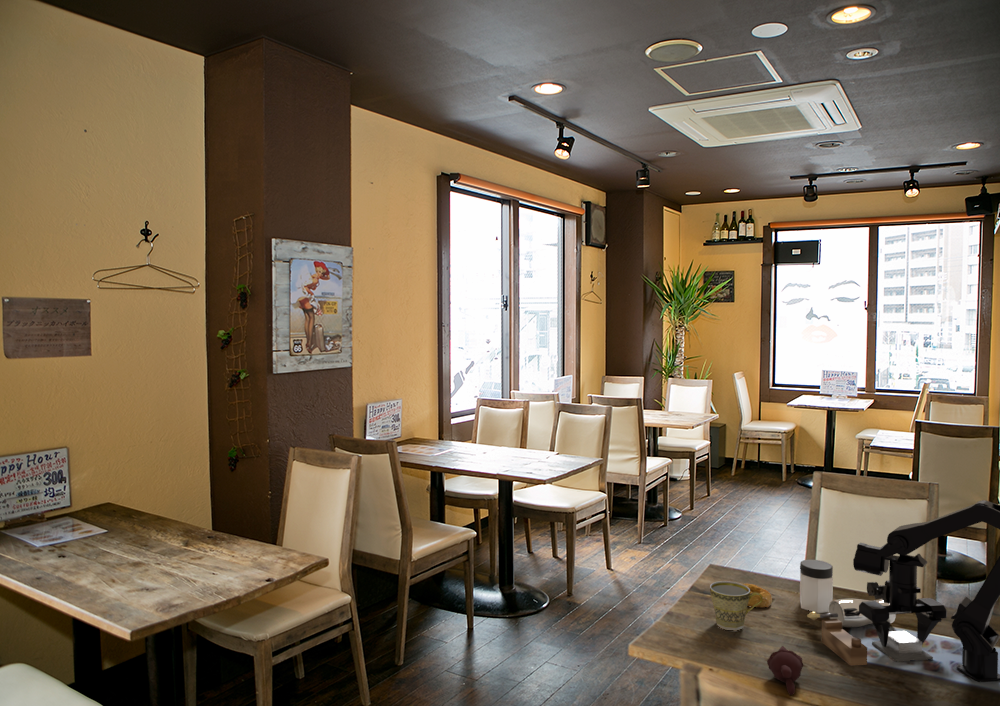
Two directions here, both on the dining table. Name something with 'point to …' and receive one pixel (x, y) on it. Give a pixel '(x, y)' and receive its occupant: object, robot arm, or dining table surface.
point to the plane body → (843, 643)
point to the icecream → (786, 667)
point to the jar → (816, 585)
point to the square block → (903, 643)
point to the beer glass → (853, 612)
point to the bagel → (756, 598)
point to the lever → (821, 615)
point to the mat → (904, 657)
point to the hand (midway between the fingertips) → (902, 645)
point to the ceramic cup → (731, 603)
